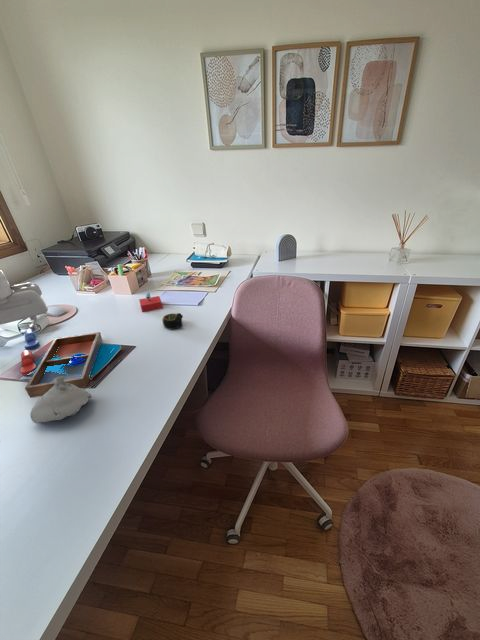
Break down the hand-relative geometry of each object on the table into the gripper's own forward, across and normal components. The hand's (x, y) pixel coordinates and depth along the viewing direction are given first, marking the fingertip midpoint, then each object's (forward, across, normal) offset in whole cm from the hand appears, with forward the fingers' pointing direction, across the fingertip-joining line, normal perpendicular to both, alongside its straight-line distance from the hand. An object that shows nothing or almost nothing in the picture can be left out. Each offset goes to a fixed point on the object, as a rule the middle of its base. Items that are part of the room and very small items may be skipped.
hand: (15, 335), depth 86 cm
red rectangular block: (+10, -42, -16) cm, 47 cm away
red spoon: (+10, 0, +2) cm, 10 cm away
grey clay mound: (+10, -6, +31) cm, 33 cm away
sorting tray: (+10, -10, +9) cm, 17 cm away
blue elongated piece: (+9, -1, -13) cm, 16 cm away
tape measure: (+10, -44, +5) cm, 46 cm away
